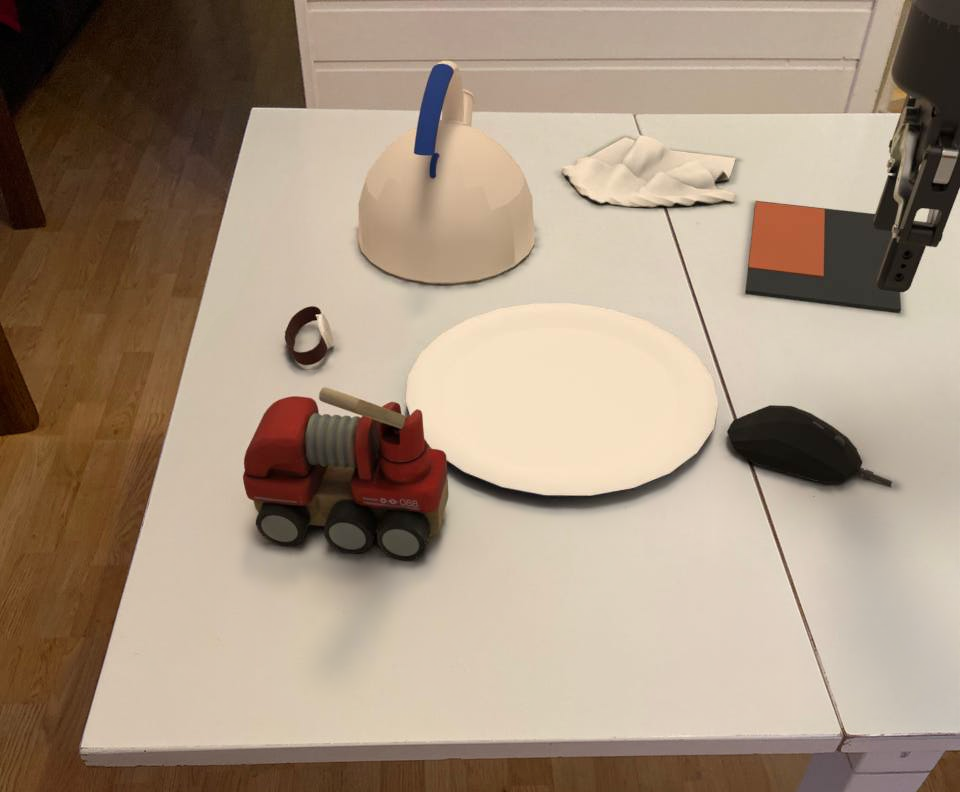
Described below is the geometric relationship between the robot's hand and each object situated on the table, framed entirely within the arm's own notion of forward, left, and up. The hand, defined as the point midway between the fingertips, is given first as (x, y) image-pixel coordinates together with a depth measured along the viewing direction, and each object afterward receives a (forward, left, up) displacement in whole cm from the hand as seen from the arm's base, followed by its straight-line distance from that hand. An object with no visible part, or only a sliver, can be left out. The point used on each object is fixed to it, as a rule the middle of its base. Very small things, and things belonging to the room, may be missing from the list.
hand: (889, 257), depth 70 cm
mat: (0, -37, -20) cm, 42 cm away
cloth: (+20, -51, -20) cm, 58 cm away
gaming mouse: (+1, -1, -20) cm, 20 cm away
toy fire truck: (+38, +17, -20) cm, 46 cm away
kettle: (+42, -31, -20) cm, 56 cm away
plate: (+24, -4, -20) cm, 31 cm away
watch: (+50, -7, -20) cm, 54 cm away
